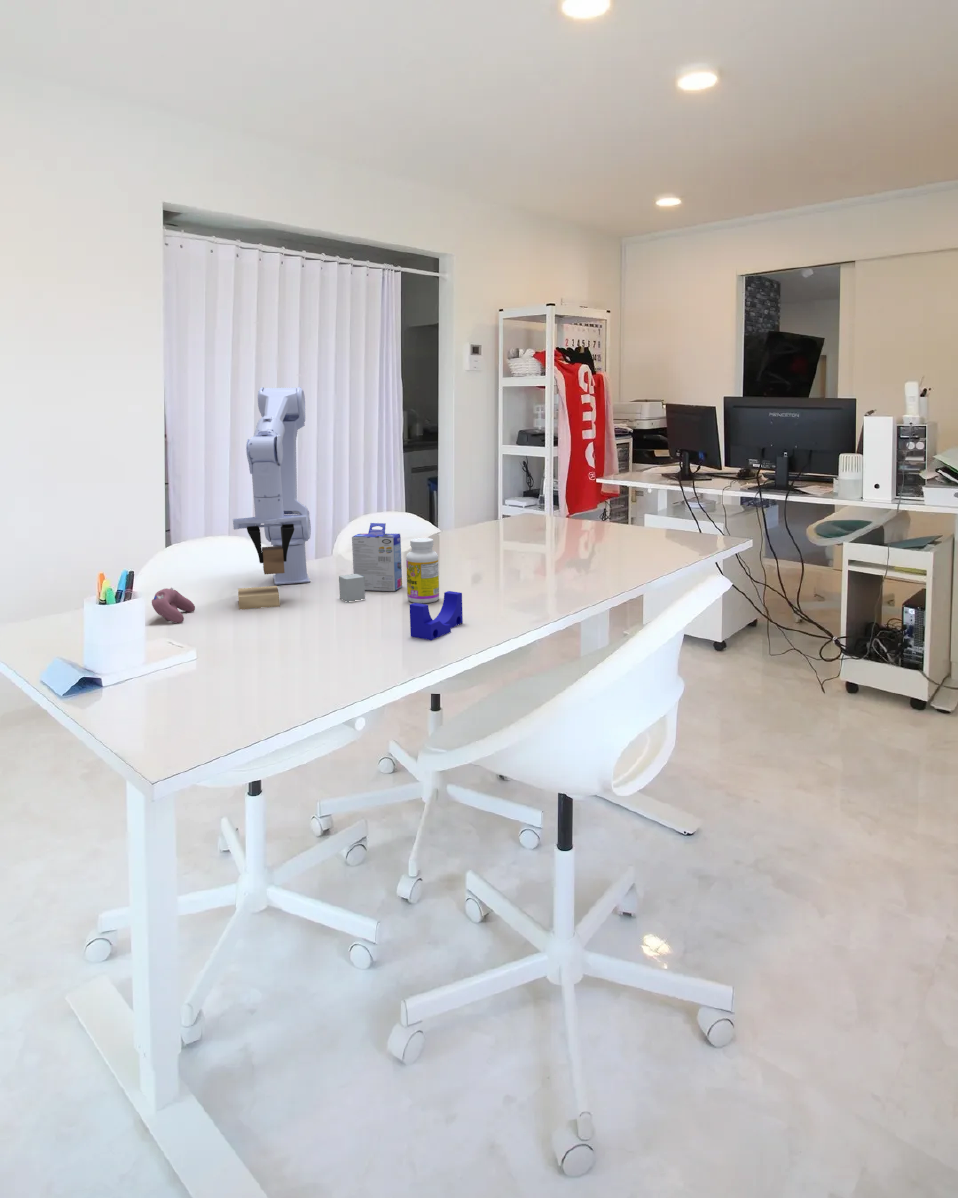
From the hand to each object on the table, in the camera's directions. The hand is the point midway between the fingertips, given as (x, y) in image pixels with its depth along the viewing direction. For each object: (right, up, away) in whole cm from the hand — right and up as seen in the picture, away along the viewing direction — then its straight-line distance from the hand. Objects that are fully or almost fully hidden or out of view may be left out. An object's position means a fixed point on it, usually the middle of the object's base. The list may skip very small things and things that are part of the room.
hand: (272, 561), depth 168 cm
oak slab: (-3, -9, +1) cm, 10 cm away
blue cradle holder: (+36, -14, -21) cm, 44 cm away
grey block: (+16, -8, +3) cm, 18 cm away
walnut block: (0, -2, 0) cm, 2 cm away
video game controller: (-17, -12, -10) cm, 23 cm away
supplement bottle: (+31, -8, +1) cm, 32 cm away
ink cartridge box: (+20, -6, +12) cm, 25 cm away
